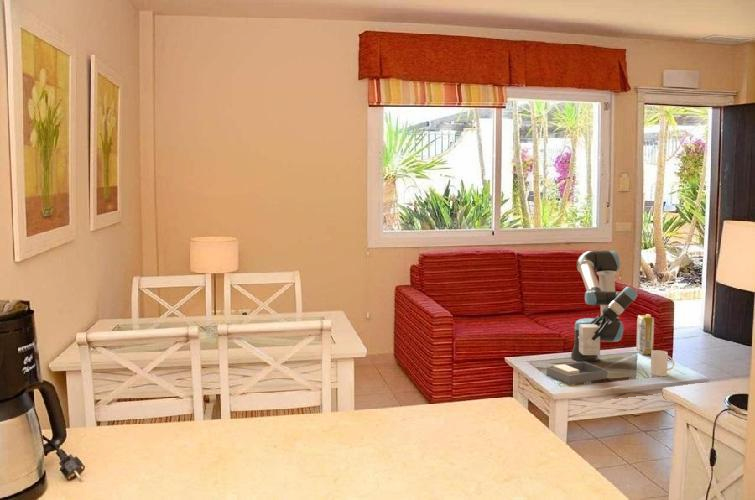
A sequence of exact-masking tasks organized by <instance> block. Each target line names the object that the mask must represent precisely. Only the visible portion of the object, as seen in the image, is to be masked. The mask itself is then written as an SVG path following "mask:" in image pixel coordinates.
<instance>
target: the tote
mask: <svg viewBox="0 0 755 500" xmlns="http://www.w3.org/2000/svg"><path fill="white" fill-rule="evenodd" d="M564 364H565V365H567V366H570V367H573V368H575V369H578V370H579V374H574V375H568V374H565V373H563V372H560V371H558V370H555V369H553V366H554V365H549V366H546V376H548V377H551V378H553V379H556V380H557V381H559V382H563V383H565V384H568V385H573V384H580V383H586V382H593V381H598V380H599V381H600V380H605V379H608V369H605V368H603V367H601V366H597V365H594V364H592V363H589V362H585V361H578V362H571V363H564Z"/></svg>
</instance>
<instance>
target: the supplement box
mask: <svg viewBox="0 0 755 500" xmlns="http://www.w3.org/2000/svg"><path fill="white" fill-rule="evenodd" d="M599 328H600V327H599V326H597V325H596V324H579V352H580V353H581V354H583V355H598V356H600V355H601V341H600V336H599V337H597V338H596V339H595V340H594V341H593V342H592V344H591V345H590V346H589V345H588V344H587V343H586V341H587V340H588V339H589V338H590V337H591V336H592V334H593V333H594V332H596V331H597V330H598V329H599Z"/></svg>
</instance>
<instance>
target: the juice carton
mask: <svg viewBox="0 0 755 500" xmlns="http://www.w3.org/2000/svg"><path fill="white" fill-rule="evenodd" d="M636 321H637V322H636V326H637V327H636V343H635V344H636V346H635V347H636V352H637V353H638V354H640V355H643V356H644V355H645V356H646V355H648V354H651V351H654V335H655V334H654V332H655V318H654V317H652V315H651V314H649V313H646V314H644V315H642V314H641V315H640V314H638V315H637V320H636ZM648 356H649V355H648Z"/></svg>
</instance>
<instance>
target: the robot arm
mask: <svg viewBox="0 0 755 500" xmlns="http://www.w3.org/2000/svg"><path fill="white" fill-rule="evenodd" d="M620 268H621V260H620V257H619V255H618V253H617V251H616V250H615V251H614V250H608V249H607V250H587V251H584V252H583V253H582V254H581V255H579V256H578V258H577V260H576V269H577V272H579V273H580V275H581V279H582V280H583V284H584V287H585V293H584V302H585V304H586V305H590V306H600V314H598V315H597V316H596V317H595V318H590V317H587V318H586V317H585V318H580V319H578V320H576V321H575V323H574V346H573V348H572V351H571V353H570V358H571V357H572V358H573V359H572V358H571V359H572V360H574V361H578V362H587V363H589V362H592V363H593V362H596V361H598V360H599V355H583V354H581V353H580V352H579V324H596V325H597V326H599V327H600V328H599V329H598V330H597V331H596V332H594V333H593V334H592V336H591V337H590V338H589V339H588V340H587V341H586V343H587V344H588V345H589V346H590V345H591V344H592V342H593V341H594V340H595V339H596V338H597V337H599V336H600V342H608V343H609V342H610V343H613V342H614V343H615V342H619V341H621V340H622V338H623V335H624V324H623V323H624V322H623V321H620V317H619V316H620V315H621V314H623V312H624V311H625V310H626V309H627V308H628V307H629V306H630V305H631V304H632V303H633V302H634V301H635V300H636V299H637V298H638V296H639V295H638V293H637V291H636V290H635V289H634V288H632V287H630V286H626V287H625V288H623V289H622V290H621V291H618V290H617V291H616V283H615V282H616V280H615V275H617V274H618V271H619V270H620ZM597 276H598V278H597ZM598 280H599V281H598Z"/></svg>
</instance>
